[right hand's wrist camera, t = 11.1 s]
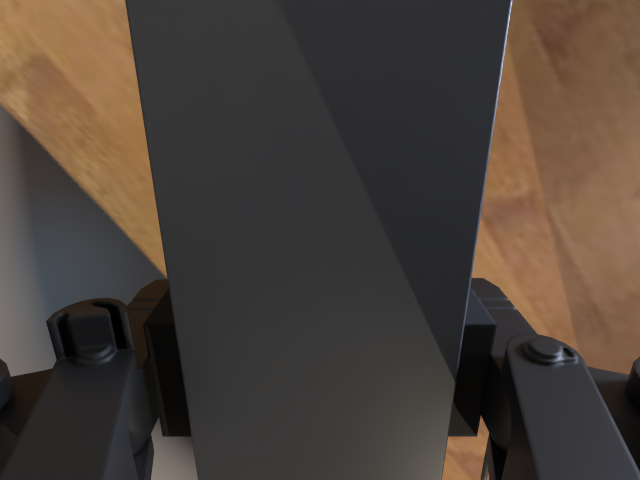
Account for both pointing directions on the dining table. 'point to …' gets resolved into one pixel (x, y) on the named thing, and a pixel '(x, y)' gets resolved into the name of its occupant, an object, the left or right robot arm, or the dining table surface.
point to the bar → (319, 221)
